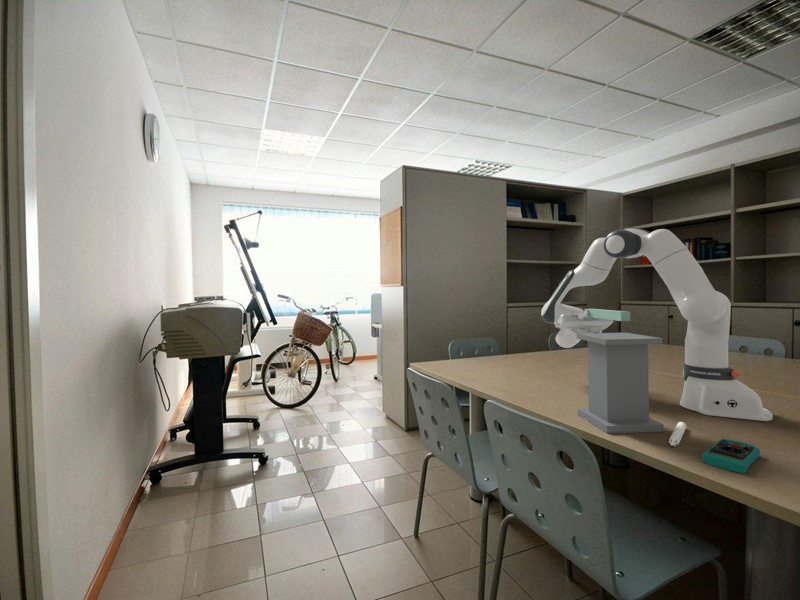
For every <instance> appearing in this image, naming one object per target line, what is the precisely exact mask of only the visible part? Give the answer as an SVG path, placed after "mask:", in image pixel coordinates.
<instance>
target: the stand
mask: <svg viewBox="0 0 800 600" xmlns="http://www.w3.org/2000/svg"><path fill="white" fill-rule="evenodd" d="M577 339H581V340H582V341H586V342H587V365H588V366H587V370H588V372H587V373H588V375H587V377H588V379H587V380H588V407H581V408H577V415H578V416H579V415H580V416H579V417H580V418H582V417H583V418H582V419H584V418H585V419H586V421H587V420H588V421H587V422H589V423H590V422H591V423H590V424H592V425H593V424H594V425H593V426H595V427H596V426H597V428H598V429H600V430H601V429H602V430H601V431H603V432H604V431H605V433H606V434H623V433H625V434H626V433H632V434H633V433H656V432H657V433H658V432H659V433H660V432H665V431H664V430H665V429H664V428H665V427H664V423H661V422H659V421H657V420H655V419H653V418H651V417H650V408H649V407H650V402H649V400H650V397H649V396H650V393H649V392H650V391H649V390H650V389H649V387H650V386H649V385H650V383H649V345H658V344H659V345H660V344H661V345H663V342H664V341H663V338H662V337H656V336H650V335H643V334H638V333H637V334H636V333H631V332H602V333H585V334H577ZM585 419H584V420H585Z"/></svg>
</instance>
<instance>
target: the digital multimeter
mask: <svg viewBox="0 0 800 600" xmlns="http://www.w3.org/2000/svg"><path fill="white" fill-rule="evenodd" d="M760 457H761V448H759V447H757V446H755V445H754V444H750V443H747V442H743V441H739V440H734V439H728V438H727V439H726V438H721V439H719V440H718V441H717V442H716V443H715V444H714V445H712V447H710V448H709V449H708V450H705V451H704V452H703V453H701V458H702V459H701V460H702V461H701V462H702V463H703V464H707V465H710V466H713V467H717V468H719V469H723V470H728V471H730V472H734V473H738V474H743V475H744V474H746V473H747V471H748V469H749V468H750V467H751V465H752V464H753V463H754V462H756V460H758V459H759V458H760Z"/></svg>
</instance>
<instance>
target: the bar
mask: <svg viewBox="0 0 800 600" xmlns="http://www.w3.org/2000/svg"><path fill="white" fill-rule="evenodd" d="M585 310H589V311H590V315H589V316H586V317H593V318H601V319H608V320H613V321H617V322H631V311H626V310H624V311H623V310H613V309H600V308H584V311H585Z"/></svg>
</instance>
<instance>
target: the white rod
mask: <svg viewBox="0 0 800 600" xmlns="http://www.w3.org/2000/svg"><path fill="white" fill-rule="evenodd" d="M686 429H687V424H686V423H685V422H683V421H678V422H677V424H676V426H675V428H674V429H673V431H672V433H671V435H670V437H669V439H668V443H669V445H670V446H671V447H672V446H673V447H678V446H680V445H679V444H680V443H681V440H682V438H683V436H684V433H685V432H686Z"/></svg>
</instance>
